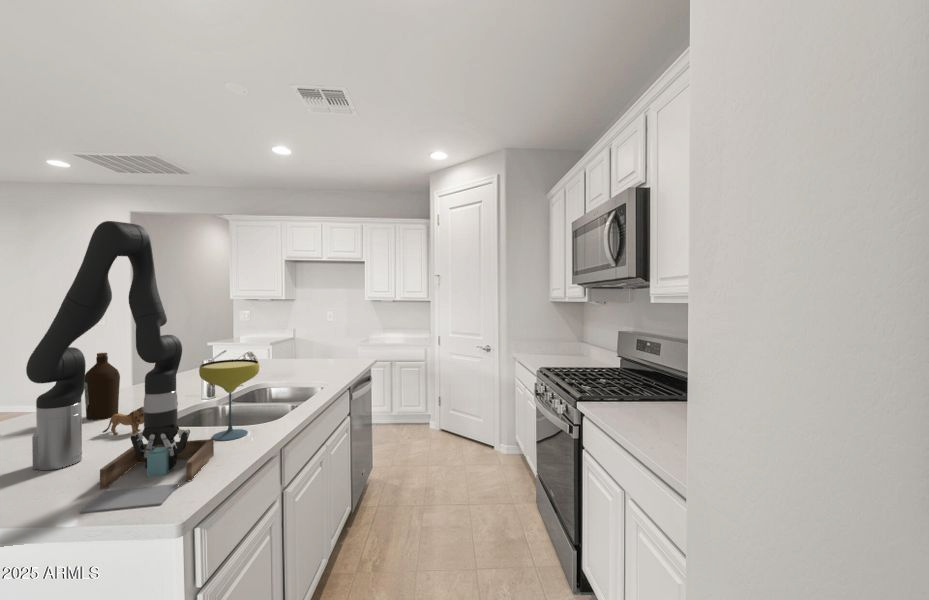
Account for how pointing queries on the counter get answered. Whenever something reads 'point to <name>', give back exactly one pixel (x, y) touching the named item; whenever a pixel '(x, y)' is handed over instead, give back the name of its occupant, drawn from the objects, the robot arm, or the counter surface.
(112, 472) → the open-front crate
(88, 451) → the counter surface
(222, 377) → the cocktail glass
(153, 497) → the rubber mat
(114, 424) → the lion figurine
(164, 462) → the teal block
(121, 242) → the robot arm
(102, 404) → the olive oil
